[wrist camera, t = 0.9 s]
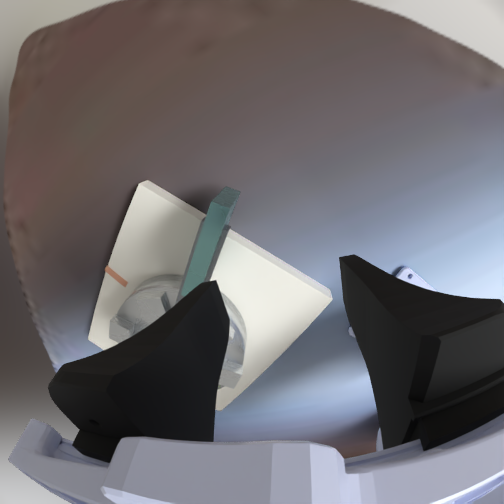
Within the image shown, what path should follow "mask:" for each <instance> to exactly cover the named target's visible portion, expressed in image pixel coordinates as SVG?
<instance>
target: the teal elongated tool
mask: <svg viewBox="0 0 504 504" xmlns="http://www.w3.org/2000/svg"><path fill="white" fill-rule="evenodd" d="M239 195H240V191H237V190H234V189H232V188H229V187H227V186H226V187H225V188H224V189H223V190H222V191H221V192H220V193H219V194H218V195H217V196H216V197H215V198H214V199H213V200H212V201H211V204H210V207H209V210H208V212H207V215H206V217H204V218H203V219H202V220H201V223H200V226H199V229H198V232H197V235H196V238H195V241H194V244H193V247H192V250H191V253H190V256H189V260H188V263H187V266H186V269H185V273H184V275H176V274H165V275H159V276H155V277H152V278H149V279H147V280H145V281H144V282H142V283H141V284H139V285H138V286H137V287H136V288H135V289H134V291H133V292H132V293H131V294H130V296H129V297H128V298H127V299H126V301H125V302H124V303H123V304H122V305H121V307H120V308H119V310H118V312H117V314H115V315H114V316H113V318H112V319H111V320H110V326H109V338H110V339H112V340H114V341H116V342H118V344H119V343H120V342H122V341H124V340H126V339H128V338H130V337H131V336H133V335H135V334H137V333H138V332H140V331H141V330H143V329H144V328H146V327H147V326H149V325H150V324H152V323H153V322H154V321H156V320H157V319H158V318H159V317H161V316H162V315H163V314H164V313H166V312H167V311H168V310H169V309H171V308H172V307H173V306H174V305H175V304H177V303H178V302H179V301H180V300H181V299H182V298H184V297H185V296H186V295H187V294H188V293H189V292H190V291H192V290H193V289H194V288H195V287H196V286H198V285H199V284H201V283H202V282H208V281H210V280H211V277H212V274H213V272H214V269H215V266H216V264H217V261H218V258H219V256H220V253H221V250H222V248H223V245H224V243H225V240H226V237H227V235H228V232H229V230H230V226H228V223H229V221H230V218H231V215H232V213H233V210H234V208H235V205H236V202H237V200H238V197H239ZM220 292H221V291H220ZM221 295H222V298H223V301H224V304H225V307H226V310H227V313H228V315H229V318H230V330H229V341H228V345H227V350H226V354H225V359H224V363H223V367H222V371H221V375H220V380H219V384H218V389H221V388H223V387H225V386H226V387H229V388H232V389H234V388H235V386H236V385H237V383H238V381H239V380H240V378H241V376H242V374H243V367H244V366H242V365H243V361H244V354H245V348H246V342H247V331H246V326H245V322H244V320H243V318H242V315H241V313H240V312H239V310H238V309H237V307H236V306H235V305H234V304H233V302H232V301H231V300H230V299H229V298H228V297H227V296H226V295H224V294H223V293H222V292H221Z"/></svg>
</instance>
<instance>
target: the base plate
mask: <svg viewBox="0 0 504 504" xmlns="http://www.w3.org/2000/svg"><path fill="white" fill-rule="evenodd" d="M204 217H206V214H204V213H202V212H201V211H199V210H197V209H196V208H194V207H192V206H191V205H189V204H187V203H186V202H184V201H182V200H181V199H179V198H177V197H176V196H174V195H172V194H170V193H169V192H167V191H165V190H164V189H162V188H160V187H159V186H157V185H155V184H154V183H152V182H150V181H148V180H147V181H144V182H142V183H139V185H138V187H137V190H136V192H135V194H134V197H133V199H132V201H131V204H130V206H129V209H128V211H127V214H126V216H125V219H124V221H123V224H122V227H121V229H120V232H119V235H118V238H117V240H116V243H115V246H114V249H113V252H112V255H111V258H110V261H109V264H108V266H106V268H105V270H104V271H106V273H105V277H104V280H103V283H102V287H101V290H100V293H99V297H98V301H97V304H96V308H95V312H94V316H93V320H92V324H91V328H90V332H89V337H88V340H90V341H91V342H93V343H94V344H96V345H97V346H99V347H100V348H102V349H103V350H106V349H108V348H110V347H113V346H115V345H117V344H118V342H116V341H114V340H112V339H110V338H109V326H110V320H111V319H112V318H113V316H114V315H115V314H117V312H118V310H119V308H120V307H121V305H122V304H123V303H124V302H125V301H126V299H127V298H128V297H129V296H130V294H131V293H132V292H133V291H134V289H135V288H136V287H137V286H138V285H139V284H141V283H142V282H144V281H145V280H147V279H149V278H152V277H155V276H159V275H165V274H176V275H184V273H185V269H186V266H187V263H188V260H189V256H190V253H191V250H192V247H193V244H194V241H195V238H196V235H197V232H198V229H199V226H200V223H201V220H202V219H203V218H204ZM213 280H216V281H217V284H218V286H219V289H220V291H221V292H222V293H223V294H224V295H226V296H227V297H228V298H229V299H230V300H231V301H232V302H233V304H234V305H235V306H236V307H237V309H238V310H239V312H240V313H241V315H242V318H243V320H244V322H245V326H246V331H247V342H246V348H245V354H244V361H243V365H242V366H244V367H243V374H242V376H241V378H240V380H239V381H238V383H237V385H236V386H235V388H234V389H232V388H229V387H226V386H225V387H223V388H221V389H218V390H217V398H216V408H215V409H216V410H218V411H222V410H223V409H224V408H225V407H226V406H227V405H229V404H230V403H231V402H232V401H233V400H234V399H235V398H236V397H237V396H239V395H240V394H241V393H242V392H243V391H244V390H245V389H246V388H247V387H248V386H249V385H251V384H252V383H253V382H254V381H255V380H256V379H257V378H258V377H259V376H260V375H261V374H262V373H263V372H264V371H265V370H266V369H267V368H268V367H269V366H270V365H271V364H272V363H273V362H274V361H275V360H276V359H277V358H278V357H279V356H280V355H281V354H282V353H283V352H284V351H285V350H286V349H287V348H288V347H289V346H290V345H291V344H292V343H293V342H294V341H295V340H296V339H297V338H298V337H299V336H300V335H301V334H302V333H303V332H304V331H305V330H306V329H307V327H308V326H309V325H310V324H311V323H312V322H313V321H314V320H315V319H316V318H317V317H318V316H319V314H320V313H321V312H322V311H323V310H324V309H325V308H326V307H327V305H328V304H329V303H330V302H331V301H332V300H333V298H332V295H331V292H330V289H328V288H326V287H325V286H323V285H322V284H320V283H318V282H317V281H315V280H313V279H312V278H310V277H308V276H307V275H305V274H304V273H302V272H300V271H299V270H297V269H295V268H294V267H292V266H290V265H289V264H287V263H285V262H284V261H282V260H280V259H279V258H277V257H276V256H274V255H272V254H271V253H269V252H267V251H266V250H264V249H262V248H261V247H259V246H257V245H256V244H254V243H252V242H251V241H249V240H247V239H246V238H244V237H242V236H241V235H239V234H237V233H236V232H234V231H232V230H231V229H230V230H229V232H228V235H227V237H226V240H225V243H224V245H223V248H222V250H221V253H220V256H219V258H218V261H217V264H216V266H215V269H214V272H213V274H212V277H211V280H210V281H213Z"/></svg>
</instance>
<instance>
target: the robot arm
mask: <svg viewBox="0 0 504 504" xmlns="http://www.w3.org/2000/svg"><path fill="white" fill-rule="evenodd" d="M339 261H340V270H341V280H342V290H343V301H344V305H345V309H346V312H347V316H348V320H349V322H350V325H351V326H350V327H349V329H348V332H349V334H350V335H351V336H353V337H355V338H356V340H357V342H358V345H359V347H360V350H361V352H362V355H363V357H364V360H365V362H366V365H367V368H368V372H369V376H370V380H371V384H372V388H373V393H374V397H375V402H376V407H377V412H378V418H379V424H380V428H379V431H378V435H377V442H376V450H377V452H373V453H369V454H365V455H361V456H356V457H351V458H346V459H344V458H343V457H342V456H341V455H340V453H339V452H338V451H337V450H336V449H335V448H333V447H331V446H328V445H323V444H319V443H315V442H310V441H281V440H272V441H256V442H213V440H214V420H215V408H216V398H217V390H218V384H219V380H220V375H221V371H222V367H223V363H224V359H225V354H226V350H227V345H228V341H229V330H230V318H229V315H228V313H227V310H226V307H225V304H224V301H223V298H222V295H221V292H220V289H219V286H218V284H217V281H216V280H213V281H208V282H202V283H201V284H199V285H198V286H196V287H195V288H194V289H193V290H192V291H190V292H189V293H188V294H187V295H186V296H185V297H184V298H182V299H181V300H180V301H179V302H178V303H177V304H175V305H174V306H173V307H172V308H171V309H169V310H168V311H167V312H166V313H164V314H163V315H162V316H161V317H159V318H158V319H157V320H156V321H154V322H153V323H152V324H150V325H149V326H147V327H146V328H144V329H143V330H141V331H140V332H138V333H137V334H135V335H133V336H131V337H130V338H128V339H126V340H124V341H122V342H120V343H119V344H117V345H115V346H113V347H110V348H108V349H106V350H104V351H101V352H99V353H97V354H94V355H91V356H89V357H86V358H83V359H80V360H76V361H73V362H70V363H66V364H64V365H62V367H61V368H60V369H59V371H58V372H57V373H56V375H55V376H54V378H53V379H52V381H51V382H50V384H49V387H48V389H49V393H50V396H51V398H52V400H53V401H54V403H55V404H56V405H57V406H58V408H59V409H60V410H61V411H62V412H63V413H64V414H65V415H66V416H67V417H68V418H69V419H70V420H71V421H72V423H73V424H74V425H76V427H77V428H78V429H80V430H79V432H78V434H77V436H76V438H75V440H74V441H70V440H68V439H65V438H62V436H61V435H60V434H59V433H58V432H57V431H56V430H55V429H54V428H52V427H51V426H50V425H48V424H46V423H44V422H41V421H38V420H36V419H31V420H30V422H29V423H28V425H27V427H26V429H25V430H24V432H23V433H22V435H21V437H20V439H19V440H18V442H17V444H16V446H15V447H14V449H13V451H12V453H11V455H10V457H9V459H8V460H9V462H11V463H12V464H13V465H14V466H15V467H17V468H18V469H19V470H21V471H22V472H23V473H25V474H26V475H27V476H29V477H30V478H31V479H33V480H34V481H35V482H37V483H38V484H40V485H41V486H43V487H44V488H46V489H47V490H49V491H50V492H52V493H54V494H55V495H57V496H59V497H61V498H63V499H64V500H66V501H68V502H70V503H72V504H504V303H503V302H502V301H501V300H500V299H481V298H468V297H461V296H454V295H449V294H444V293H440V292H437V291H436V290H435V289H434V288H433V287H431V286H430V285H429V284H428V283H427V282H426V281H425V280H423V279H422V278H421V277H420V276H419V275H417V274H416V273H415V272H414V271H413V270H411V269H410V268H409V267H403V268H402V269H401V270H400V271H399V273H398V274H397V275H396V276H393V275H391V274H389V273H387V272H385V271H383V270H381V269H379V268H377V267H376V266H374V265H372V264H370V263H369V262H367V261H365V260H364V259H362V258H360V257H358V256H356V255H349V256H344V257H339ZM409 274H411V275H410V276H409V277H407V276H408V275H409Z"/></svg>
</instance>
